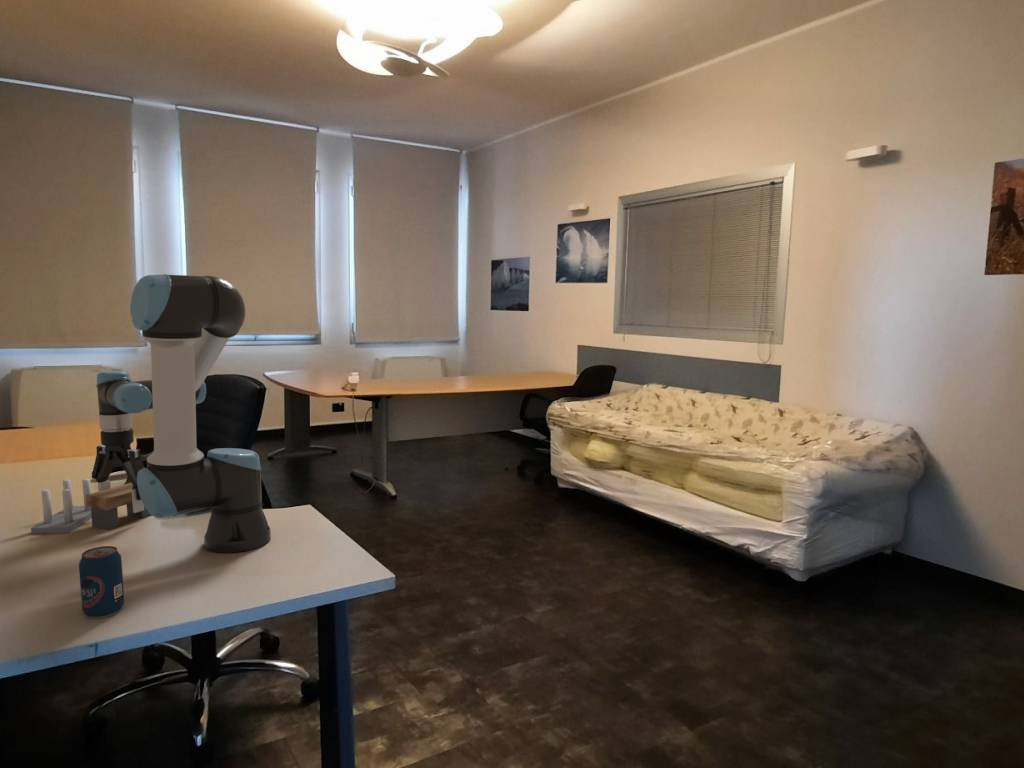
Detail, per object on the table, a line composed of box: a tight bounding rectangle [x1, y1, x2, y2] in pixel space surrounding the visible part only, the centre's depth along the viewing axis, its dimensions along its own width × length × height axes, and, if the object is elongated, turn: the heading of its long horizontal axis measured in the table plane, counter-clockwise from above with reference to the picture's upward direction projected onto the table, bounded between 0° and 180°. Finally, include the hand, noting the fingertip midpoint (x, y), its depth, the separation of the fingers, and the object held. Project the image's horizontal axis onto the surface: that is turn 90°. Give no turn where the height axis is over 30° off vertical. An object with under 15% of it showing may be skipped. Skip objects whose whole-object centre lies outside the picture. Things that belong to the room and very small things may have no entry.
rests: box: [91, 503, 152, 531], centre depth 180 cm, size 6×13×6 cm, turn 156°
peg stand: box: [30, 478, 92, 535], centre depth 179 cm, size 9×18×10 cm, turn 7°
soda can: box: [78, 545, 125, 619], centre depth 128 cm, size 7×7×12 cm
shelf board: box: [86, 482, 134, 510], centre depth 180 cm, size 8×14×3 cm, turn 156°
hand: (122, 508), depth 180 cm, fingers open, 12 cm apart
